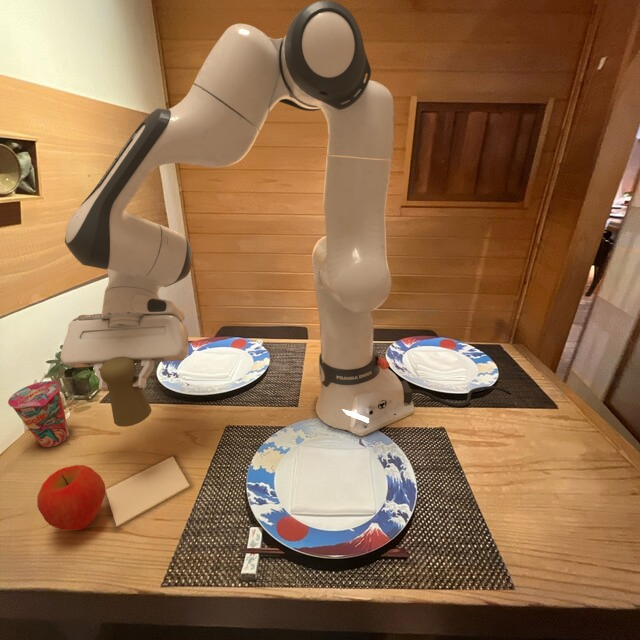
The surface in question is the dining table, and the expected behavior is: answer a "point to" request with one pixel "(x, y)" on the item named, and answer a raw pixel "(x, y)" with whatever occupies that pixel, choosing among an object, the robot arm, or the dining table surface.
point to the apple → (71, 497)
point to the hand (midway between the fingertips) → (122, 389)
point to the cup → (42, 412)
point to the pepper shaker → (124, 392)
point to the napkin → (145, 490)
